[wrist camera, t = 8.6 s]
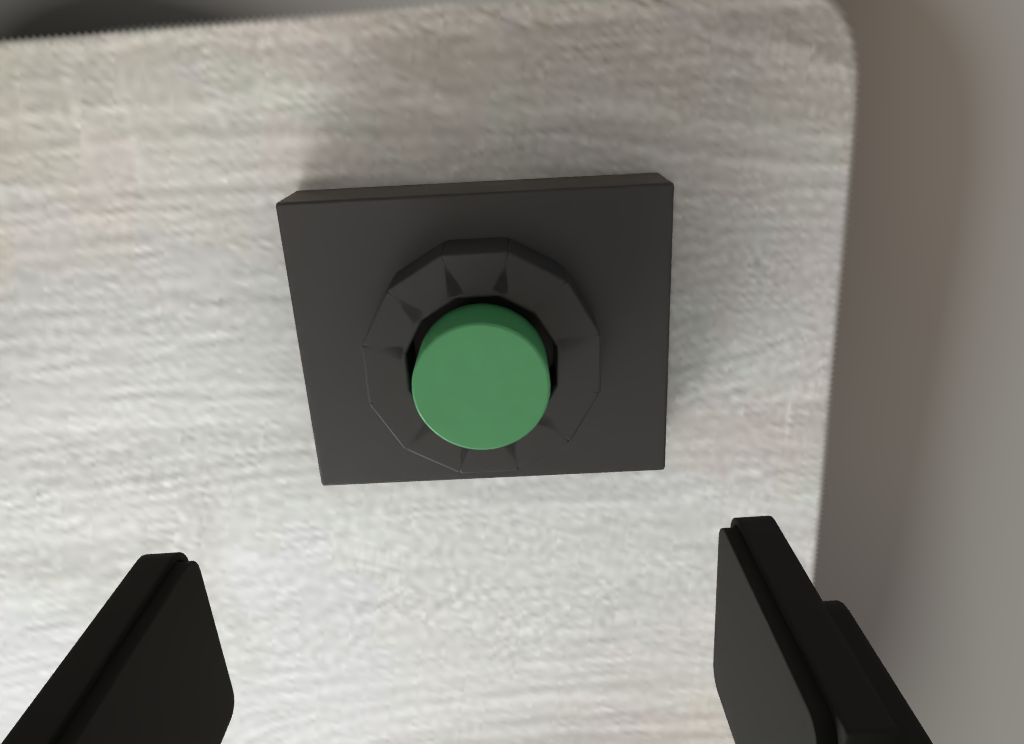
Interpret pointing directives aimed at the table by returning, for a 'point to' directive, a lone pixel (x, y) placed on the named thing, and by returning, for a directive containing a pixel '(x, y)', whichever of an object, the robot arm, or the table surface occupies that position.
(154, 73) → the table surface
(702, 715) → the table surface
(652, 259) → the box
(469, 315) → the release button
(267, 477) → the table surface
